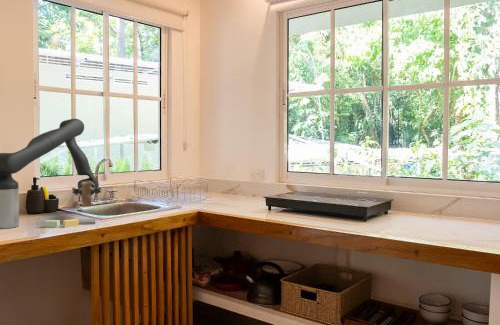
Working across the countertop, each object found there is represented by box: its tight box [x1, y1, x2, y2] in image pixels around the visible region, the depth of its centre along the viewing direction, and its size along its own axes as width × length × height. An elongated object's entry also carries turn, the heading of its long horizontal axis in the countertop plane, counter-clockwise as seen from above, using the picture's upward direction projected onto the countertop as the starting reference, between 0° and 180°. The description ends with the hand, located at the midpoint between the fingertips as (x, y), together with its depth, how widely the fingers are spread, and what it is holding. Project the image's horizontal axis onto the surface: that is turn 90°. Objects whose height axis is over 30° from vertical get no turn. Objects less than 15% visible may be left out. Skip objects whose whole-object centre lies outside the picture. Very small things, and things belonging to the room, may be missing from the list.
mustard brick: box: [62, 218, 80, 228], centre depth 203 cm, size 6×3×3 cm, turn 129°
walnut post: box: [81, 182, 92, 207], centre depth 211 cm, size 4×4×11 cm
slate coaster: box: [77, 218, 97, 226], centre depth 211 cm, size 8×8×1 cm
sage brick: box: [43, 219, 61, 229], centre depth 201 cm, size 6×3×3 cm, turn 90°
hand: (86, 192), depth 208 cm, fingers closed on walnut post, 4 cm apart
